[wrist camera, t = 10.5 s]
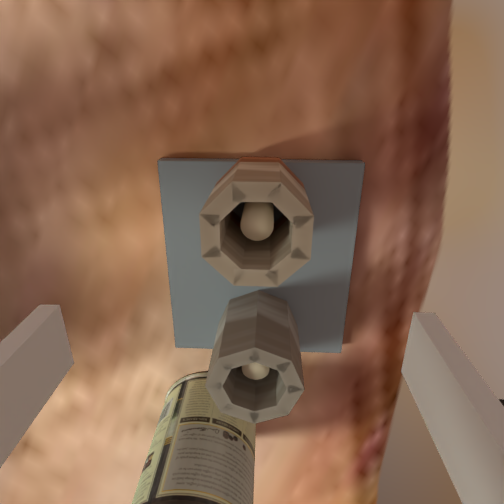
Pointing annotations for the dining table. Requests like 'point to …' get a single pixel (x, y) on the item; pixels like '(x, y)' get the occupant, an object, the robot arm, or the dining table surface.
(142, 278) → the dining table surface
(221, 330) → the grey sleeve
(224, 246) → the cream sleeve
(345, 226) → the pin board
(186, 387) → the coffee can
